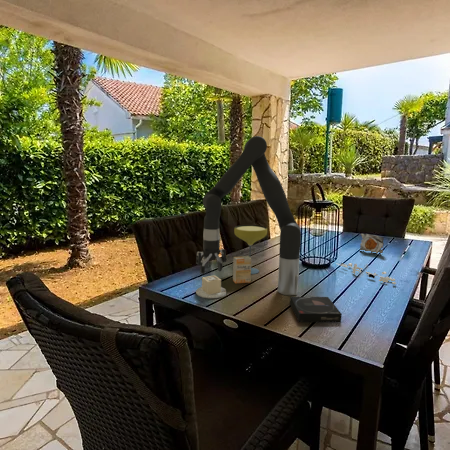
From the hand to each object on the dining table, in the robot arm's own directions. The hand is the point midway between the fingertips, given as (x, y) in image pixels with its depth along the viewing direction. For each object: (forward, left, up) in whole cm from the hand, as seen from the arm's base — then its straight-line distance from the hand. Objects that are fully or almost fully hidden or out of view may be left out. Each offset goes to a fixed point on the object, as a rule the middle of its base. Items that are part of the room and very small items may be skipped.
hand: (211, 272), depth 157 cm
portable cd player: (-47, +6, -11) cm, 49 cm away
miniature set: (-73, -52, -11) cm, 91 cm away
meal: (-80, -101, -10) cm, 129 cm away
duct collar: (0, 0, -9) cm, 9 cm away
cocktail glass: (-10, -37, -10) cm, 40 cm away
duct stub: (0, 0, -10) cm, 10 cm away
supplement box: (-10, -19, -10) cm, 24 cm away
